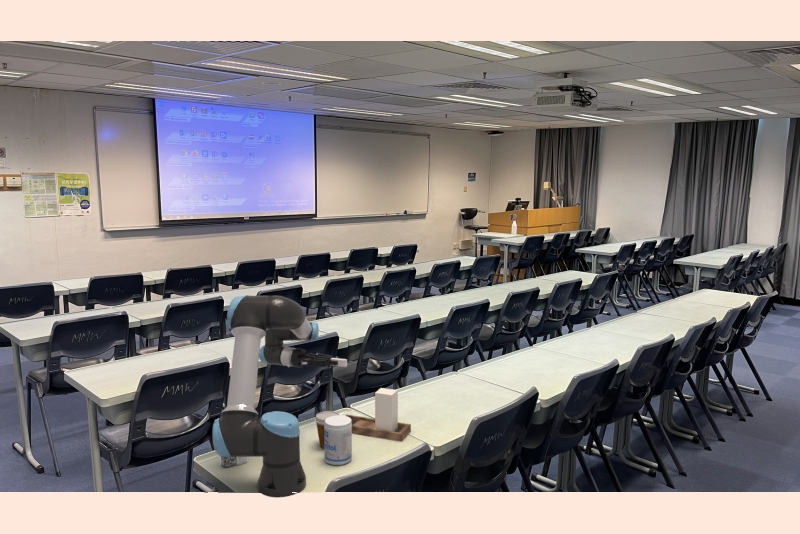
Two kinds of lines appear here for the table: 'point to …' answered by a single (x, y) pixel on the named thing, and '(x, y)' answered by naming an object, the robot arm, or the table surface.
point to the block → (386, 409)
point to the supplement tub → (338, 440)
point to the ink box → (232, 461)
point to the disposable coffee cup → (321, 422)
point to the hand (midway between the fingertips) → (346, 363)
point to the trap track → (368, 429)
